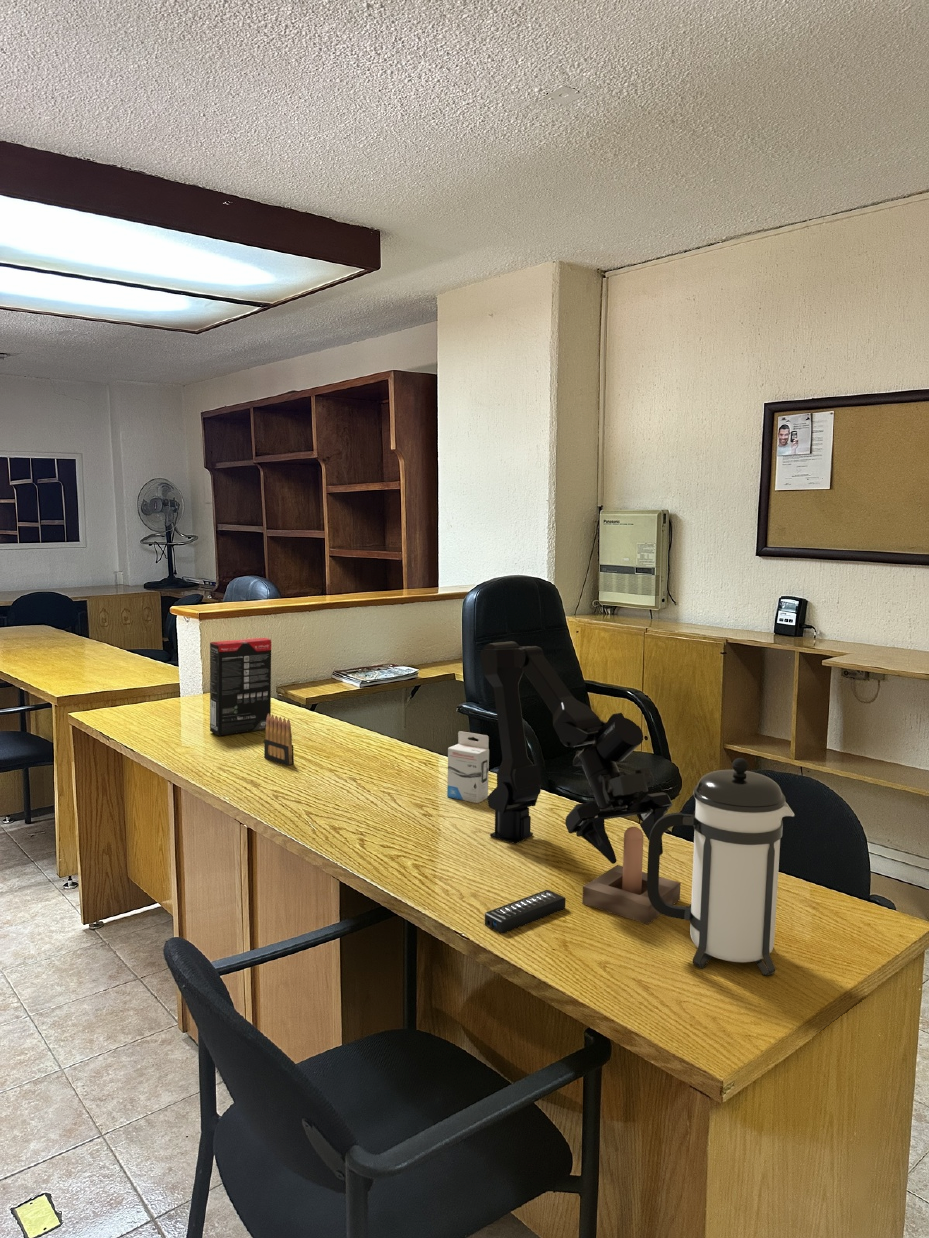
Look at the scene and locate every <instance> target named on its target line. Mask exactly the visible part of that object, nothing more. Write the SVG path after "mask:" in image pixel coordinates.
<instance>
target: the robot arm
mask: <svg viewBox="0 0 929 1238" xmlns="http://www.w3.org/2000/svg"><path fill="white" fill-rule="evenodd" d="M482 648H483V649H482V650H481V651H480V654H479V655H480V656H479V658H480V664H481V667H482V668H481V669H482V672H483V676H484V677H485V678H486V680H487V682H488V683H489V684H490V685H491V686H492V689H493V693H494V703H495V710H496V718H497V725H498V733H499V740H500V749H501V756H502V757H501V759H502V760H501V763H500V765H499V768H498V770H497V774H496V787H495V788H494V789H493V790H492V791H491V792H490V793H489V794H488V797H487V798H486V799H487V803H488V804H487V805H488V808H489V809H492V810H494V831H493V832H491V833H489V837H490V838H493V839H497V840H501V841H504V842H506V843H509V844H510V843H512V844H517V845H518V843H521V842H522V841H525V840H527V839H529V838H530V837H533V836H534V833H533V832H531V823H532V822H531V821H532V819H531V818H532V817H531V815H530V808H531V807H535V806H536V805H537V801H538V798H539V795H540V794H541V791H542V789H541V786H543V781H542V780H541V769H540V766H539V764H533V762H532V760H531V759H530V758H529V757H528V751H527V745H526V743H527V742H526V735H525V729H524V728H525V726H524V721H523V714H522V704H521V697H520V690H519V684H520V681H521V678H522V677H523V675H525V676H526V677H527V679H528V680H529V681H530V683H531V685H532V686H533V687H534V689H535V690H536V691H537V692H536V693H538V695H539V697H541V699H542V700H543V702H544V704H545V705H546V707H547V708H548V709H549V710H550V712H551V714H552V726H553V728H554V730H555V733H556V734H557V737H558V738H559V740H560V742H561V743H562V744H563V746H565V747H567V748H568V747H569V748H575V747H581V746H585V747H584V748H583V749H582V750H577V751H575V756H574V758H573V760H572V766H573V767H582V770H583V771H584V773H585V776H586V778H587V781H588V784H589V786H590V787H589V788H588V789H587V792H588V795H589V796H593V797H594V799H595V802H594V801H592V802H590V801H589V802H583V803H578V804H577V803H576V804H575V806H574V807H573V808H572V809H571V810H570V812H569V813H568V814H567V816H566V817H565V821H564V824H565V826H566V830H567V832H568V834H575V835H576V836H577V837H579V838H580V837H581V838H583V839H584V840H585V841H586V842H588V843H589V844H591V845H592V846H593V847H594V848H595V849H596V850H597V851H598V852H599V853H600V854H601V855H602V856H603V857H605V858H606V859H607V860H608V861H609V862H610V863H611V864H612V865H614V864H616V863H617V862H618V860H617V856H616V854H615V851H614V848H613V846H612V843H611V841H610V839H609V836H608V834H607V831H606V828H605V820H609V819H610V820H611V819H616V818H624V817H629V816H630V817H631V816H636V817H637V819H638V820H640V821H641V823H640V824H639V827H640V828H641V831H642V833H643V834H644V835H645V837H646V838H647V840H648V841H649V838H650V833H651V830H652V828H653V826H654V824H655V823H656V822H657V820H658V819H660V818H661V817H662V816H664V815H667V814H668V811H669V809H671V808H672V806H673V802H672V800H671V798H670V796H669V795H668V793H666V792H655V793H648V792H649V789H648V788H650V787H653V786H654V785H655V780H654V775H653V773H652V772H651V770H650V768H649V767H643V768H642V767H641V768H639V769H636V770H635V773H633V774H632V773H631V774H627V773H626V772H625V771H620V770H619V767H618V765H617V763H620V762H623V761H624V760H625V759H626V758H627V757H629V756H630V754H632V753H633V752H634V751H635V750H636V749H637V748H638V747H639V746H640V745H641V744H642V743H643V741H644V732H643V731H642V728H641V727H640V726H639V725H638V724H636V722H635V721H633V720H631V719H629V718H627V717H625V716H624V714H623V713H622V712H617V713H616V712H615V713H613V714H611V716H610V717H609V718H608V720H607V721H606V722H605V721H603V720H601V719H600V717H599V716H598V715H597V714H596V713H595V711H593V709H591V708H590V707H589V706H588V704H585V703H583V702H581V700H578V699H576V698H575V697H574V695H573V694H572V693H571V691H570V690H569V689H568V687H567V686H566V685H565V683H564V682H563V680H562V679H561V678H560V676H559V675H558V674H557V672H556V671H555V669H554V668H553V666H552V665H551V664H550V662H549V661H548V660H547V658H546V657H545V651H544V650H543V648H542V647H539V646H537V645H532V646H530V645H529V646H526V645H525V646H521V645H519V643H517V642H516V641H511V640H510V641H505V642H504V641H503V642H502V641H501V642H493V643H487V644H485V645H484V646H483V647H482ZM523 673H524V674H523ZM641 793H647V794H646V795H645V796H644V797H643V798H642V799H641V800H640V802H636V803H635V802H633V801H635V800H637V799H638V798H639V794H641ZM663 849H664V847H663V837H662V838H661V843H660V856H662V854H664V853H663V852H664V850H663Z"/></svg>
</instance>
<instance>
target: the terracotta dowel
mask: <svg viewBox="0 0 929 1238" xmlns="http://www.w3.org/2000/svg"><path fill="white" fill-rule="evenodd" d="M643 854H644V832H643V830H642V829H640V828H639V827H637V826H630V827H628V828H626V829H625V831H624V833H623V855H622V856H623V857H622V859H623V860H622V866H623V880H622V890H624V891H628V892H631V893H634V894H638V895H641V890H642V872H643V863H644V862H643V858H644V855H643Z"/></svg>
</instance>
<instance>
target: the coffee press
mask: <svg viewBox="0 0 929 1238" xmlns="http://www.w3.org/2000/svg"><path fill="white" fill-rule="evenodd" d="M731 766H732V769H718V770H714V771H710V772H708V773H705V774H704V775H702V776H701V778H699V781H698V782H697V784H696V785H695V786H694V787H693V793H692V795H693V797H694V799H695V810H694V811H693V814H688V813H683V812H670V813H666V814H665V815H664V816H662V817H661V818H660V819H658V820H657V822H656V823H655V824H654V826H653V828H652V830H651V833H650V838H649V840H648V849H647V851H648V852H647V871H646V873H647V892H648V897H649V900H650V902H651V904H652V906H653V907H654V908H655V909H656V910H657V911H658V912H659V913H661V915H663V916H665V917H668V918H672V919H677V920H684V921H688V922H689V923H690V927H689V929H690V930H689V932H690V939H691V940H692V942H693V944H694V946H696V947H697V949H696V951H695V953H694V956H693V958H692V964H693V965H694V966H696V967H698V968H700V969H705V968H706V966H707V964H708V963H709V961H710V960H712V959H713V958H716V959H720V960H723V961H727V962H734V963H751V962H752V963H753V962H754V964H756V966H757V967H758V969H759V971H760V972H761V974H762V975H763V976H765V977H769V976H770V975H774V974H775V973H776V967H775V964H774V962H773V960H772V958H771V953H772V952H773V949H774V946H775V934H776V922H777V921H776V920H777V919H776V918H777V917H776V916H777V905H778V904H777V903H778V902H777V901H778V887H779V885H778V884H779V883H778V882H779V868H780V867H779V866H780V864H779V863H780V852H781V851H780V848H781V838H782V837H783V827H784V822H783V818H784V817H792V818H793V817H795V812H794V811H793V810H792V808H791V807H790V806H789V804H788V803H787V802H786V796H785V795H784V793H783V791H782V789H781V787H780V786H779V784H778V782H776V781H774V780H773V779H772V778H770V777H768V776H766V775H764V774H762V773H757V772H754V771H749V770H748V769H749V767H750V765H749V764H748V761H747V760H746V759H745V758H742V757H737V758H734V760H733V762H732V763H731ZM676 826H680V827H682V826H693V829H694V834H693V835H694V836H693V858H692V880H691V882H692V883H691V901H690V905H688V906H683V905H675V904H673V905H671V904H668V903H666V902H665V901H664V900H663V899H662V897H661V896H660V894H659V877H660V861H661V860H660V859H661V857H660V856H661V855H660V843H661V838H662V839H663V835H664V834H665V832H667V830H668V829H669V828H673V827H676ZM762 959H763V960H762Z"/></svg>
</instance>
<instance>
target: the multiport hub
mask: <svg viewBox="0 0 929 1238" xmlns="http://www.w3.org/2000/svg"><path fill="white" fill-rule="evenodd" d="M566 899H567V898H566V897H565V896H563V895H561V894H558V893H556V892H554V891H553V890H550V889H545V890H542V891H539V892H537V893H534V894H532V895H529V896H526V897H524V898H521V899H518V900H515V901H513V902H510V903H507V904H504V905H502V906H499V907H496V908H493V909H492V910H489V911H486V912H484V925H485V926H486V927H488V928H489V929H491V930H493V931H495V932H498V933H499V934H500V935H501V934H502V935H503V934H505V935H506V934H507V933H509V932H511V931H514V930H517V929H519V928H521V927H524V926H527V925H529V924H532V923H534V922H537V921H539V920H541V919H542V920H543V919H544V918H547V917H549V916H551V915H555V914H556V913H559V912H562V911H564V910H566V901H567V900H566Z"/></svg>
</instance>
